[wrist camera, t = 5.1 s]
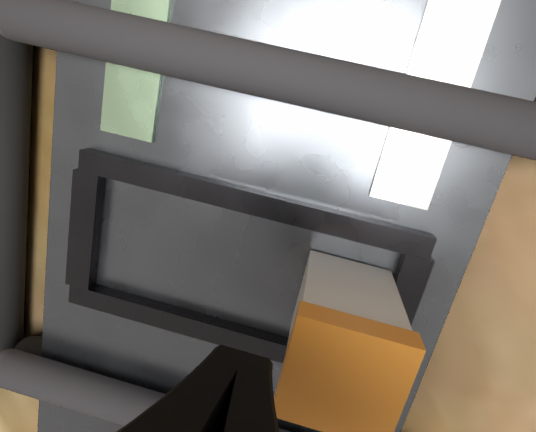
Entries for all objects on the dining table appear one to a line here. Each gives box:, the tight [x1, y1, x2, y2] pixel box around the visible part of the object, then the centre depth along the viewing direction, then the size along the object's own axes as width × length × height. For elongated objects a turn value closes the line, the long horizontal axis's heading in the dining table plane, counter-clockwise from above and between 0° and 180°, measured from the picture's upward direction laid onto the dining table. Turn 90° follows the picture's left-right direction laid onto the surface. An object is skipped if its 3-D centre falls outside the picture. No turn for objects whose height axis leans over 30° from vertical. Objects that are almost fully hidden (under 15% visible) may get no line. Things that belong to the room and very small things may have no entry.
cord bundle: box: [0, 0, 536, 351], centre depth 15 cm, size 17×21×3 cm
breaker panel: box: [38, 0, 536, 432], centre depth 16 cm, size 24×16×2 cm, turn 167°
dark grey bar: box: [0, 336, 290, 432], centre depth 17 cm, size 2×20×3 cm, turn 77°
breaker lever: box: [274, 250, 426, 432], centre depth 13 cm, size 3×3×5 cm
